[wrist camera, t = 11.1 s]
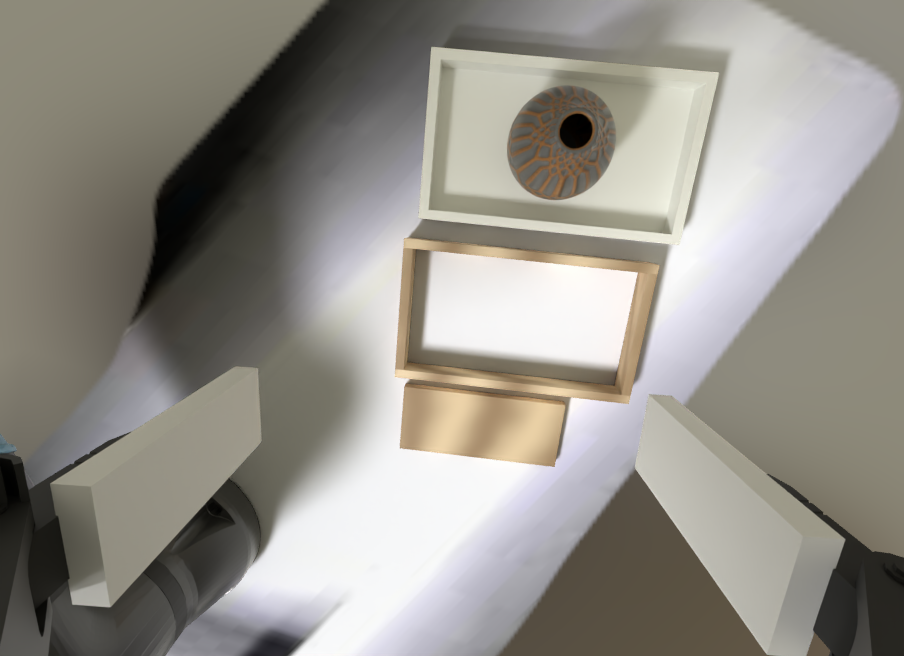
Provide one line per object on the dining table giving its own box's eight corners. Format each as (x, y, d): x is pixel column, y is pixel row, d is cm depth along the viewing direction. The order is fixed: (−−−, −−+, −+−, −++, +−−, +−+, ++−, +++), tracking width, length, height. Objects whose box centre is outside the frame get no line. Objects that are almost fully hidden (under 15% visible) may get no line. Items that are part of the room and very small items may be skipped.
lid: (401, 443, 39) (399, 448, 39) (405, 383, 38) (404, 386, 37) (552, 461, 39) (554, 466, 38) (563, 401, 37) (565, 405, 37)
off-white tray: (422, 218, 34) (418, 218, 32) (434, 58, 31) (431, 46, 29) (666, 243, 33) (679, 245, 31) (702, 82, 31) (719, 72, 28)
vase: (603, 105, 31) (651, 62, 22) (590, 204, 33) (630, 199, 24) (508, 100, 31) (519, 57, 23) (500, 199, 33) (507, 193, 24)
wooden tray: (399, 368, 37) (394, 376, 36) (408, 237, 35) (404, 238, 33) (620, 394, 37) (628, 403, 35) (649, 262, 34) (659, 265, 32)
